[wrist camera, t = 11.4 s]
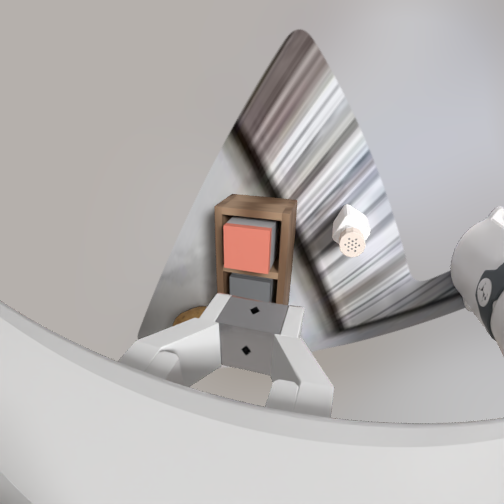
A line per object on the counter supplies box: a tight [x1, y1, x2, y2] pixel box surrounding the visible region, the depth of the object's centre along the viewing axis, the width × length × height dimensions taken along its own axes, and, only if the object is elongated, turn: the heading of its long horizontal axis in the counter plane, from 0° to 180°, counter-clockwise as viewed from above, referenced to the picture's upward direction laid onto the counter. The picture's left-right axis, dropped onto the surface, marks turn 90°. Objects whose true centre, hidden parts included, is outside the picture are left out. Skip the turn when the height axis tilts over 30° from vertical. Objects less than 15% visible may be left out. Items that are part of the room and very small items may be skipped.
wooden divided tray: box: [215, 194, 297, 305], centre depth 45 cm, size 10×18×7 cm, turn 178°
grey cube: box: [230, 272, 278, 303], centre depth 46 cm, size 6×6×6 cm
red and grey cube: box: [223, 216, 279, 274], centre depth 41 cm, size 6×6×6 cm
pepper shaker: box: [332, 204, 370, 257], centre depth 37 cm, size 4×4×10 cm
